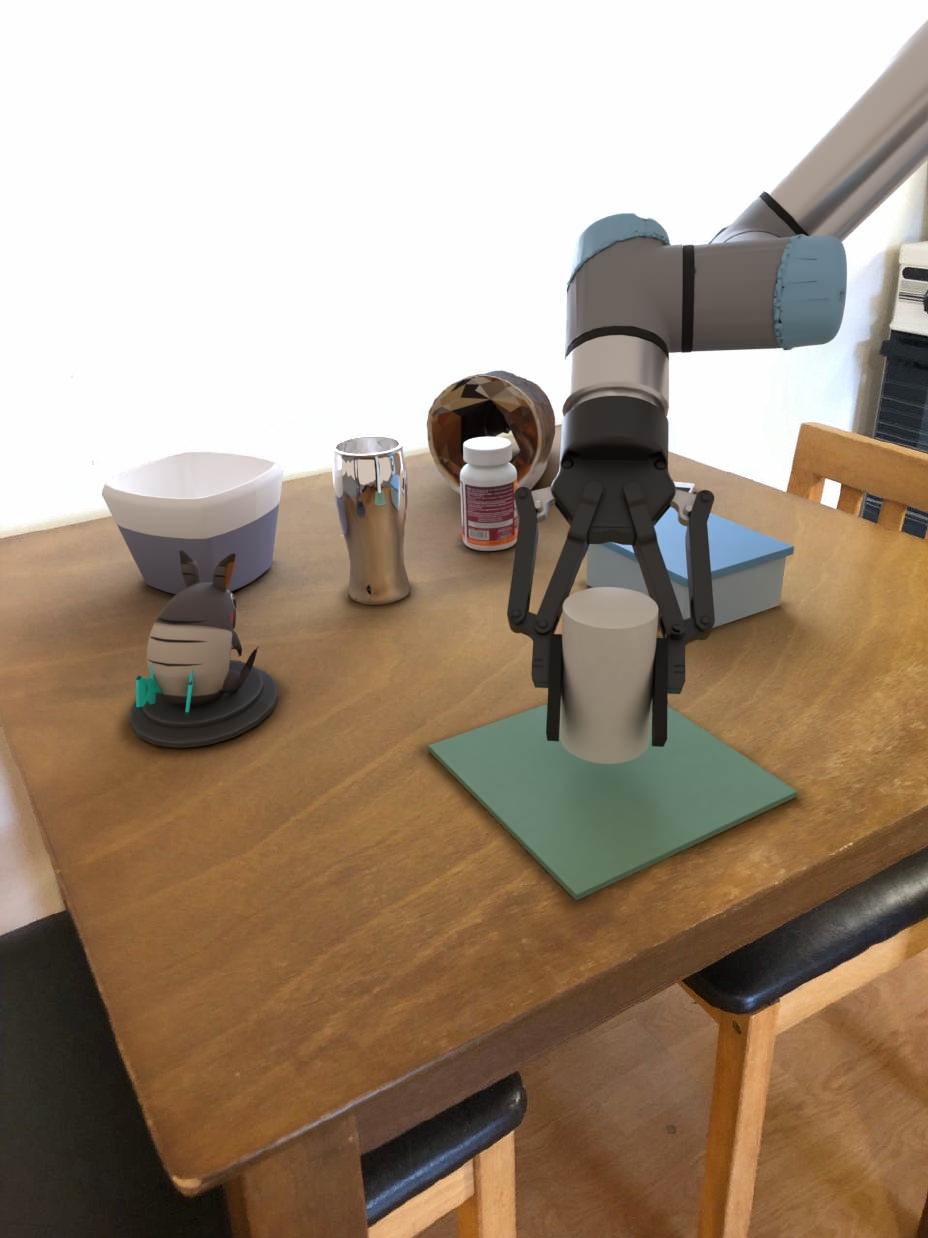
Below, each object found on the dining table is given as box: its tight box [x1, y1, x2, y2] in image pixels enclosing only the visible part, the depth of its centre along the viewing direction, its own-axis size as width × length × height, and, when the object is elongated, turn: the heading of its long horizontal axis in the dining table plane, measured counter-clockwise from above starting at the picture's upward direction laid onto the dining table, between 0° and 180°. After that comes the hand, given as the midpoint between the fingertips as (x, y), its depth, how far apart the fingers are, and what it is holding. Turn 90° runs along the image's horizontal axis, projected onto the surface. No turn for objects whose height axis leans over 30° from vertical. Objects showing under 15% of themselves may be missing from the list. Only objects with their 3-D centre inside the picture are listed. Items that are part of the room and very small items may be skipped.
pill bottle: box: [460, 436, 519, 552], centre depth 101 cm, size 6×6×11 cm
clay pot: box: [426, 370, 556, 495], centre depth 124 cm, size 15×15×25 cm
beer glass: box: [331, 434, 411, 606], centre depth 89 cm, size 7×7×15 cm
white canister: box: [560, 587, 658, 764], centre depth 61 cm, size 6×6×10 cm
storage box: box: [585, 507, 795, 629], centre depth 89 cm, size 15×13×6 cm
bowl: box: [101, 450, 284, 595], centre depth 96 cm, size 15×15×11 cm
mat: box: [428, 703, 798, 902], centre depth 65 cm, size 18×18×1 cm
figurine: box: [129, 550, 279, 749], centre depth 72 cm, size 11×12×12 cm
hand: (605, 739), depth 59 cm, fingers closed on white canister, 6 cm apart
